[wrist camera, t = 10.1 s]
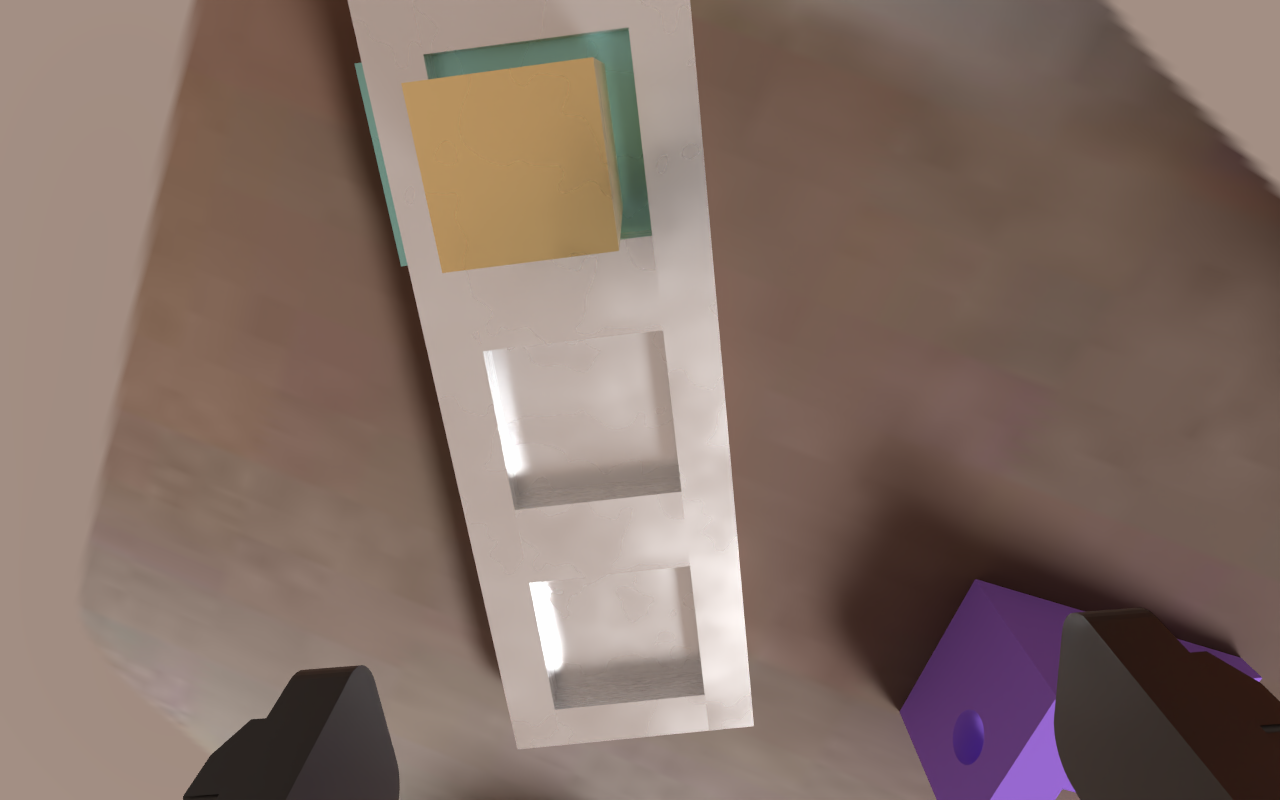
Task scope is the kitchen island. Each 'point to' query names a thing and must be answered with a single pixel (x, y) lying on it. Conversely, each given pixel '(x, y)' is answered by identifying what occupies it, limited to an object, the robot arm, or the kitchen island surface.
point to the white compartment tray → (582, 384)
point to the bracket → (997, 699)
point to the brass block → (518, 163)
